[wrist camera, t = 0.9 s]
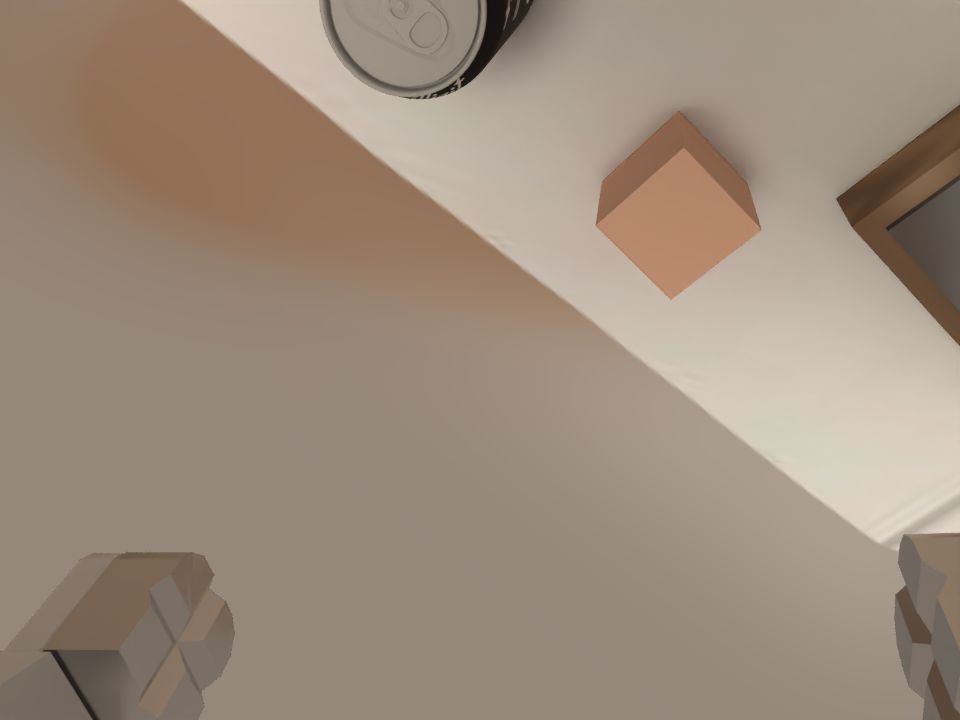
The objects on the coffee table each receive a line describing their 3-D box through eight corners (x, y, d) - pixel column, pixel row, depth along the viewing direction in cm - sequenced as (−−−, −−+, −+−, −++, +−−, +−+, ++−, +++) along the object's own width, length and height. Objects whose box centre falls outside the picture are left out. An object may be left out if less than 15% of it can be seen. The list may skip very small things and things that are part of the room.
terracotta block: (679, 110, 39) (683, 147, 34) (747, 183, 40) (761, 229, 35) (602, 181, 41) (595, 225, 36) (668, 247, 42) (670, 299, 37)
